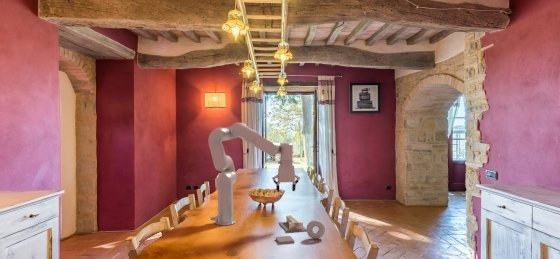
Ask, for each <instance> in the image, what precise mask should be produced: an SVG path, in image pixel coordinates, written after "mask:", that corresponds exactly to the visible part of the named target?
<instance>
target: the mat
mask: <svg viewBox="0 0 560 259" xmlns="http://www.w3.org/2000/svg"><path fill="white" fill-rule="evenodd" d="M278 224H279V226H280V227H281V228H282V229H283V230H284V231H285V232H286V233H287V234H289V233H301V232H307V230H306V229H307V228H306V227H305V226H303V229H299V230H289V224H288V223H287V222H286V221H280V222H278Z"/></svg>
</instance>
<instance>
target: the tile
mask: <svg viewBox="0 0 560 259" xmlns="http://www.w3.org/2000/svg"><path fill="white" fill-rule="evenodd" d="M275 241H276V243H278V245H288V244H289V245H290V244H295V240H294V238H293V237H292V236H291V235H284V236H275Z"/></svg>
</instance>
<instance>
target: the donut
mask: <svg viewBox="0 0 560 259" xmlns="http://www.w3.org/2000/svg"><path fill="white" fill-rule="evenodd" d="M315 227H317V228H318V231H314V228H315ZM305 229H306V230H307V231H306V233H307V235H308V236H309V238H311V239H315V240H317V239H320V238H322V237H323V236H324V234H325V233H326V228H325V224H324V223H323V222H322V221H321V220H319V219H313V220H311V221H309V222H308V223H307V225H306V228H305Z"/></svg>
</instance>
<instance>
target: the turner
mask: <svg viewBox="0 0 560 259" xmlns="http://www.w3.org/2000/svg"><path fill="white" fill-rule="evenodd" d="M285 222H287V223H288V224H289V230H299V229H303V227H304V222H303V221H298V220H296V218H294V217H293V216H292V215H286V219H285Z"/></svg>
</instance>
